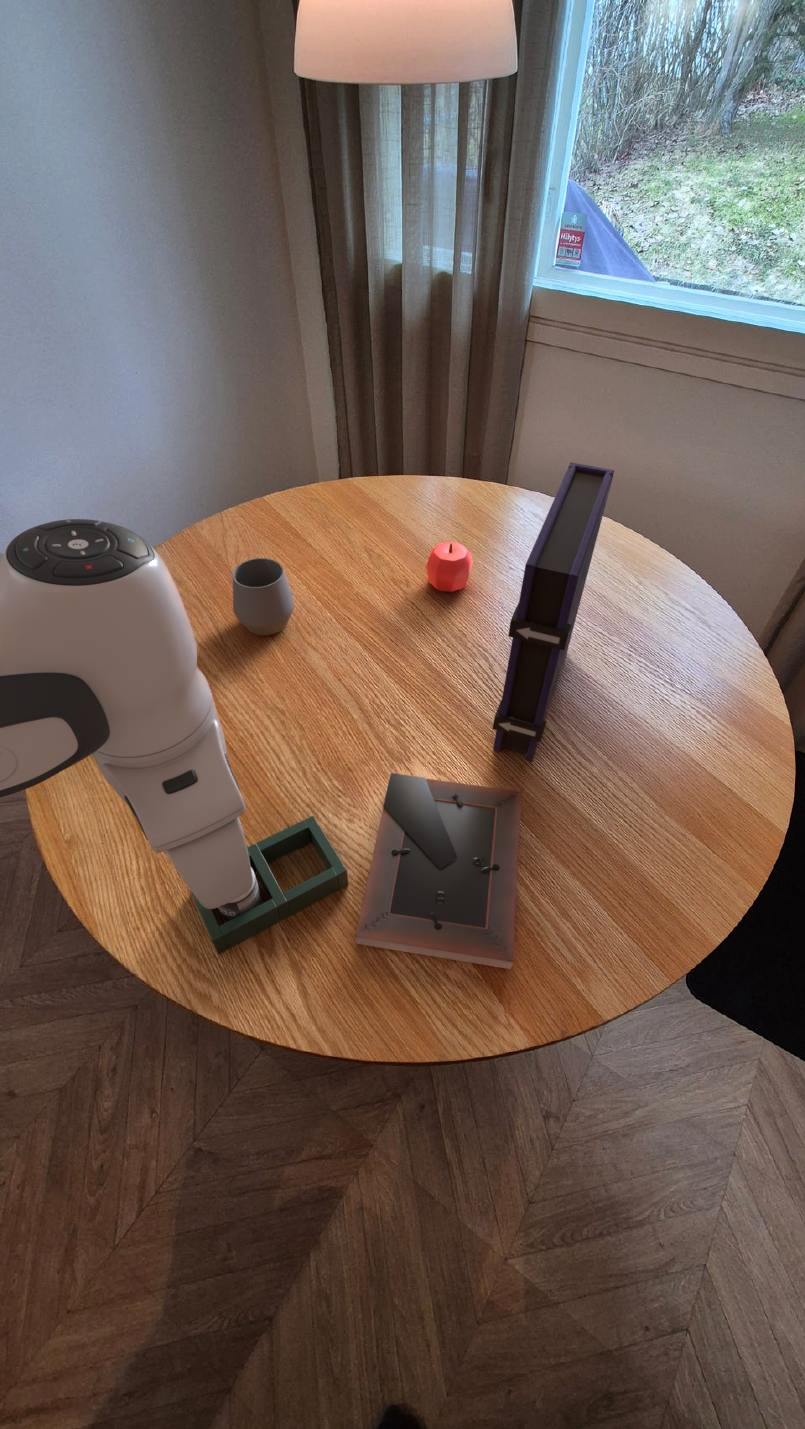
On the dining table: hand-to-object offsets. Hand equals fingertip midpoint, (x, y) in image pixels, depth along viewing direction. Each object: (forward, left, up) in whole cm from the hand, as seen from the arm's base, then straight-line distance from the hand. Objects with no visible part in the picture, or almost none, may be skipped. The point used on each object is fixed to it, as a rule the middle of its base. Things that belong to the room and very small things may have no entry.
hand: (200, 837), depth 57 cm
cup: (+23, +46, -19) cm, 55 cm away
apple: (+54, +40, -19) cm, 70 cm away
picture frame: (+23, -5, -19) cm, 31 cm away
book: (+49, +11, -19) cm, 54 cm away
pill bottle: (+1, +3, -19) cm, 20 cm away
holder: (+5, +3, -19) cm, 20 cm away
